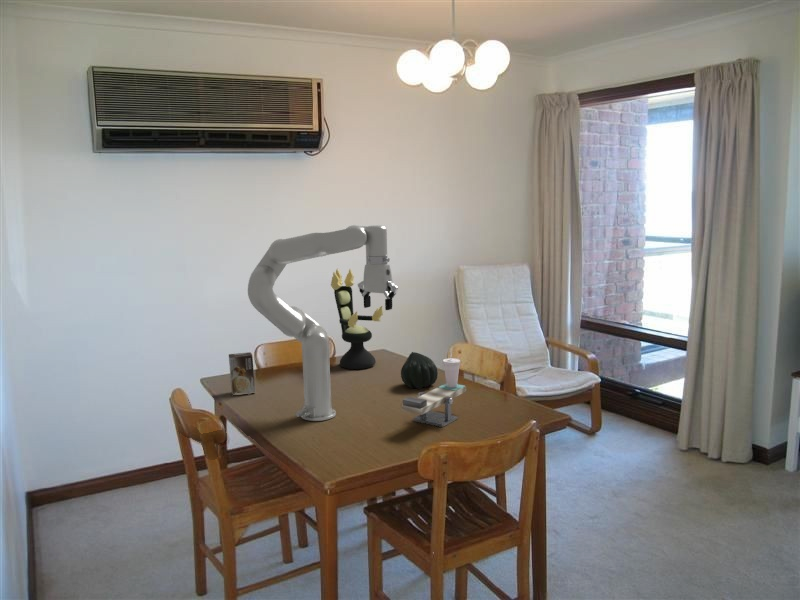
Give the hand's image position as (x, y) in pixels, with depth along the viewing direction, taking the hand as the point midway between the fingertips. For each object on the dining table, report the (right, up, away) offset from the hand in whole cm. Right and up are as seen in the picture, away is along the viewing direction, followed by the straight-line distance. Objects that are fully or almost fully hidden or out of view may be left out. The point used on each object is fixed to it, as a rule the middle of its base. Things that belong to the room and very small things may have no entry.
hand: (377, 308), depth 237 cm
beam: (+20, -31, -6) cm, 38 cm away
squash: (+16, -33, +37) cm, 52 cm away
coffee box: (-56, -35, +32) cm, 73 cm away
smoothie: (+27, -28, +3) cm, 39 cm away
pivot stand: (+20, -39, -4) cm, 44 cm away
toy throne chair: (-14, -28, +73) cm, 79 cm away
